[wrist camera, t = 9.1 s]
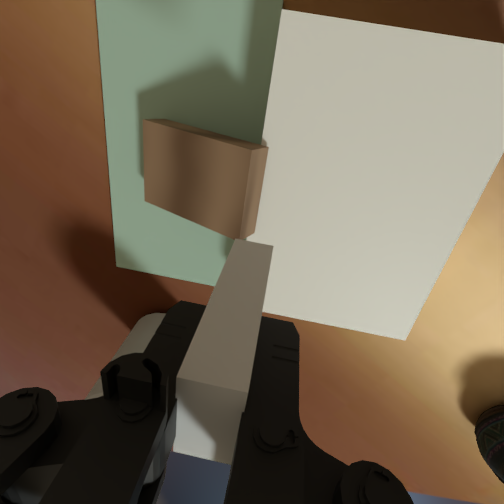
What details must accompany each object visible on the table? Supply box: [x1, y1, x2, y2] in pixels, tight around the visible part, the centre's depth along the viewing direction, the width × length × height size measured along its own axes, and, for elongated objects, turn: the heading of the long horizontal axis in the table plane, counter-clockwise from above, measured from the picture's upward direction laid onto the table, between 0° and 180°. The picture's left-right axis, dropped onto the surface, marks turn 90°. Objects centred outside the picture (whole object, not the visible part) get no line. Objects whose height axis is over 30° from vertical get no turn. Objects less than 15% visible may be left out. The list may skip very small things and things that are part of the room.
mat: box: [96, 0, 283, 286], centre depth 25 cm, size 12×22×1 cm, turn 172°
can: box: [85, 313, 166, 400], centre depth 29 cm, size 8×8×12 cm
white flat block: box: [246, 9, 504, 340], centre depth 23 cm, size 14×20×4 cm
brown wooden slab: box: [143, 119, 269, 240], centre depth 22 cm, size 9×6×2 cm, turn 82°
